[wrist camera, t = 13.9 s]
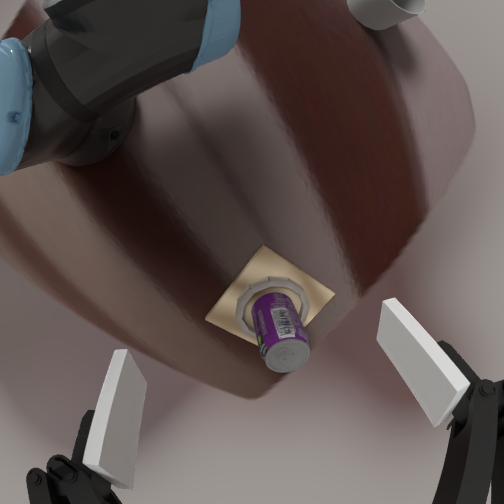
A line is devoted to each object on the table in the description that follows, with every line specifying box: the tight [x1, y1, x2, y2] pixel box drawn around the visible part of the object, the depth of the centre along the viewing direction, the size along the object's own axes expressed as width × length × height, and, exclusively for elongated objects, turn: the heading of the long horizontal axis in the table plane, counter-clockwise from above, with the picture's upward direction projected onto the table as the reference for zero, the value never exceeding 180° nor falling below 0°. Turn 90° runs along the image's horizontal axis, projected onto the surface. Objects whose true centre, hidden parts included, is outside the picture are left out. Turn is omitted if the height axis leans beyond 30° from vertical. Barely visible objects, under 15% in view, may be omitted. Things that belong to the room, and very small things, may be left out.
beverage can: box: [251, 292, 310, 373], centre depth 41 cm, size 7×7×12 cm
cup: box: [347, 0, 426, 30], centre depth 23 cm, size 8×8×10 cm
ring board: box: [205, 244, 335, 345], centre depth 46 cm, size 16×16×2 cm
